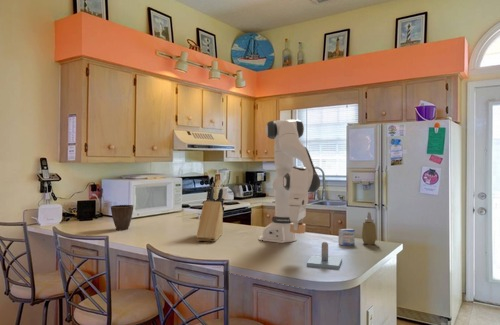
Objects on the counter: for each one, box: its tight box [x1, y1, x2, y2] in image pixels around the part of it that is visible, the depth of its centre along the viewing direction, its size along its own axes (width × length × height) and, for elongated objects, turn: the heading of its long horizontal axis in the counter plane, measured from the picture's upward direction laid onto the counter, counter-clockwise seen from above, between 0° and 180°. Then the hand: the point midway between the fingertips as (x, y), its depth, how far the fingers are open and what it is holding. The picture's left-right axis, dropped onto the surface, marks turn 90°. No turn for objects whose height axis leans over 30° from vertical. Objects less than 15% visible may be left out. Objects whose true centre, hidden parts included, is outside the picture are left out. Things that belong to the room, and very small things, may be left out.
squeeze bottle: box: [361, 211, 377, 246], centre depth 212 cm, size 8×8×18 cm
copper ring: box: [290, 222, 306, 235], centre depth 179 cm, size 7×7×4 cm
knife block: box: [195, 185, 225, 243], centre depth 231 cm, size 11×35×31 cm, turn 174°
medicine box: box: [338, 228, 356, 246], centre depth 210 cm, size 8×4×9 cm, turn 105°
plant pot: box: [110, 204, 135, 231], centre depth 255 cm, size 15×15×16 cm
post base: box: [306, 241, 343, 270], centre depth 171 cm, size 14×14×10 cm
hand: (297, 228), depth 179 cm, fingers closed on copper ring, 7 cm apart
